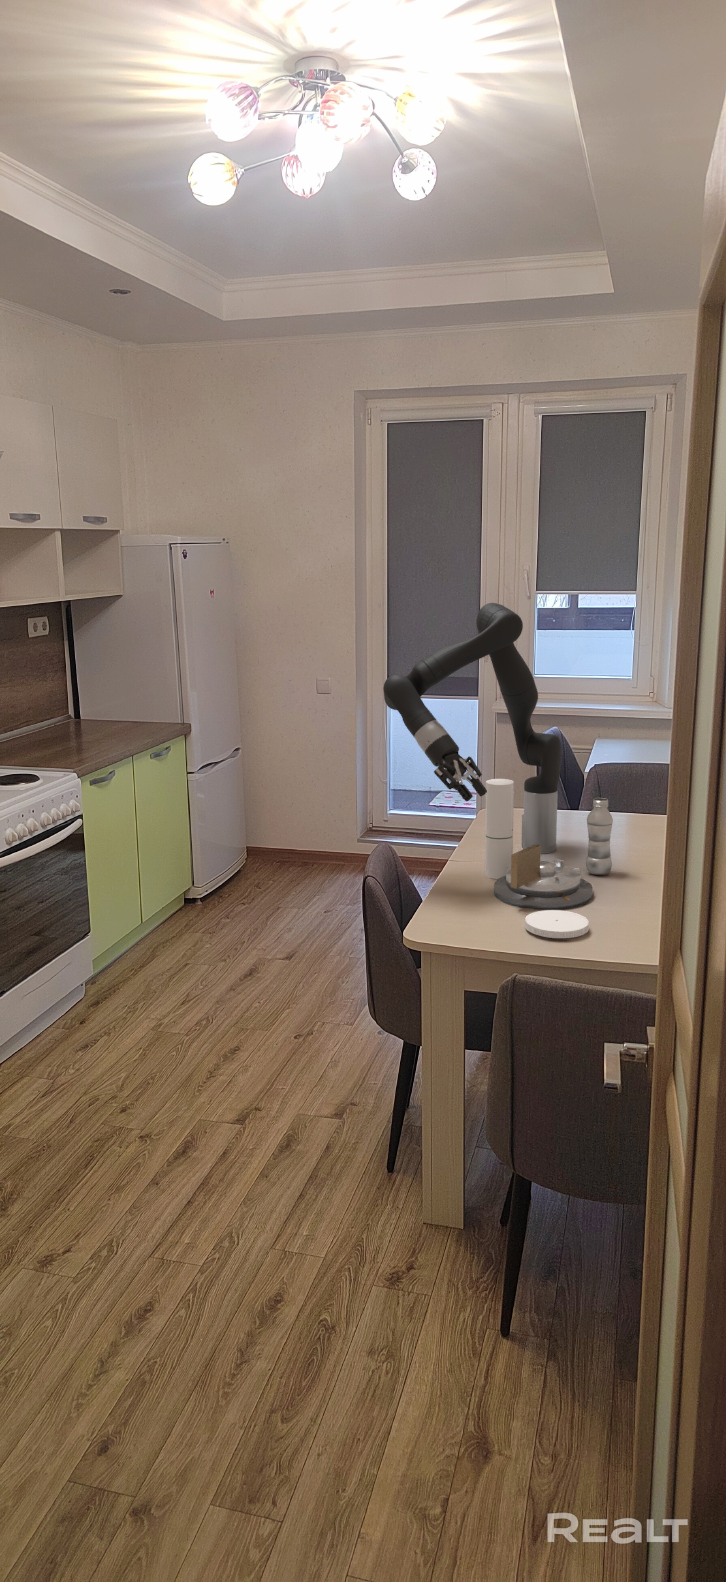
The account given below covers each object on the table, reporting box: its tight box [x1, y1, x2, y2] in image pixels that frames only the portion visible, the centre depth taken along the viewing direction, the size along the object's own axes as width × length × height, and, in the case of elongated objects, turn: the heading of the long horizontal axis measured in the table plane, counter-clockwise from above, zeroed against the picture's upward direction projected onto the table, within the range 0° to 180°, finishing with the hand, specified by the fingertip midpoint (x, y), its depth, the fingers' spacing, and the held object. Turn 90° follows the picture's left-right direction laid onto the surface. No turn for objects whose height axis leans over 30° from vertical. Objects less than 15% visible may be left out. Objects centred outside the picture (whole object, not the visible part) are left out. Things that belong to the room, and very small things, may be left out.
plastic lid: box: [524, 909, 590, 939], centre depth 233 cm, size 14×14×2 cm
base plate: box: [493, 876, 594, 911], centre depth 257 cm, size 24×24×2 cm
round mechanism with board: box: [506, 844, 581, 897], centre depth 253 cm, size 23×18×11 cm
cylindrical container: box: [484, 778, 515, 880], centre depth 270 cm, size 7×7×25 cm
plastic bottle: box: [585, 797, 614, 876], centre depth 269 cm, size 6×7×20 cm
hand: (476, 796), depth 250 cm, fingers open, 5 cm apart
